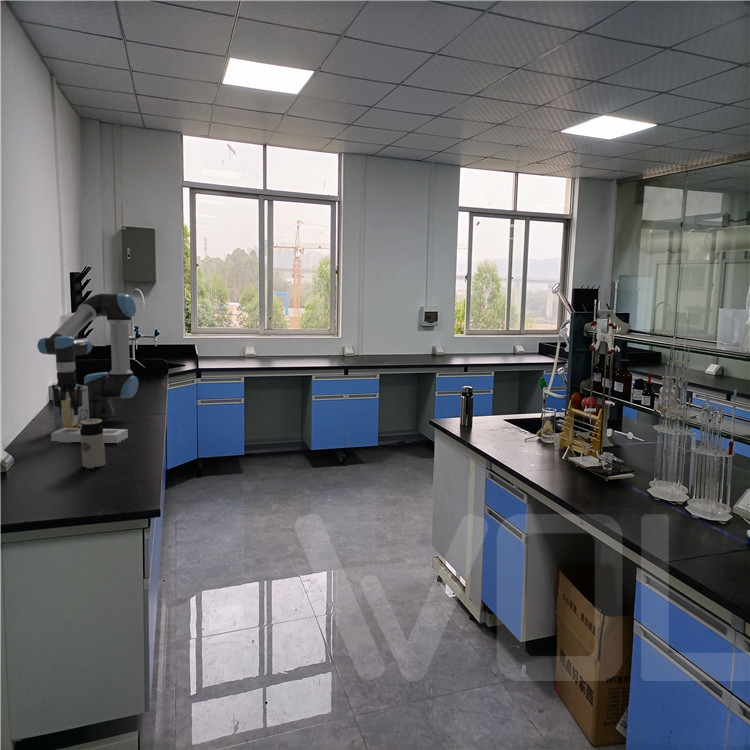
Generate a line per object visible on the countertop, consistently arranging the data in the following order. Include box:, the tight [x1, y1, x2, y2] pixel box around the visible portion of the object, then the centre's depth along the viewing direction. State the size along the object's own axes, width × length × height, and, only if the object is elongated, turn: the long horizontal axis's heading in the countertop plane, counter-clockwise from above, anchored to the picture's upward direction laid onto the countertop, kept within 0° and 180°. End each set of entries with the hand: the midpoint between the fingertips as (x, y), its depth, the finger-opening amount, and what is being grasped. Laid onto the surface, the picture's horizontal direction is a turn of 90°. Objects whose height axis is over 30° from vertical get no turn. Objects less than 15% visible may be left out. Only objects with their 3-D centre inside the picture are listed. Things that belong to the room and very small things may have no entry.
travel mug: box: [80, 419, 106, 469], centre depth 221 cm, size 8×8×18 cm
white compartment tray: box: [50, 427, 129, 444], centre depth 258 cm, size 10×30×4 cm, turn 87°
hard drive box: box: [52, 385, 89, 432], centre depth 277 cm, size 16×8×20 cm, turn 168°
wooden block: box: [61, 399, 77, 427], centre depth 257 cm, size 4×4×12 cm
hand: (69, 422), depth 257 cm, fingers closed on wooden block, 4 cm apart
